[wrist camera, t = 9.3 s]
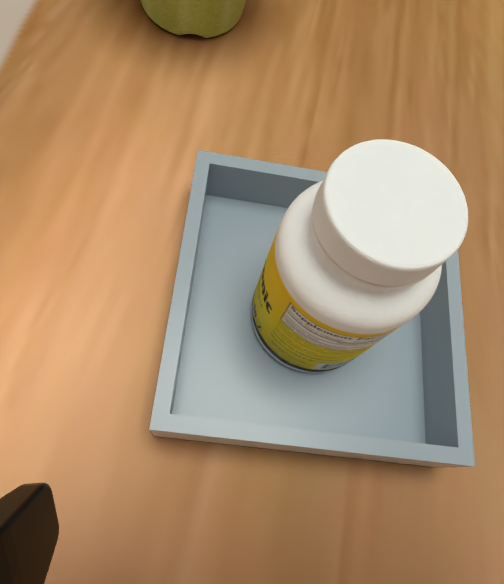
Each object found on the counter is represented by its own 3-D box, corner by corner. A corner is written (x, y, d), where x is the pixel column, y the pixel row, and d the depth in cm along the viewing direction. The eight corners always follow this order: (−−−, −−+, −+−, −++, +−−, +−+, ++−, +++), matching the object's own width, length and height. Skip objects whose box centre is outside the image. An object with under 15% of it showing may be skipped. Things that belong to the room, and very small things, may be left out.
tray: (434, 467, 20) (475, 466, 17) (153, 436, 19) (149, 429, 16) (422, 225, 25) (453, 193, 22) (195, 188, 23) (198, 149, 21)
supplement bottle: (278, 244, 22) (344, 86, 13) (380, 294, 22) (517, 170, 13) (227, 340, 20) (264, 232, 11) (339, 397, 20) (470, 334, 11)
